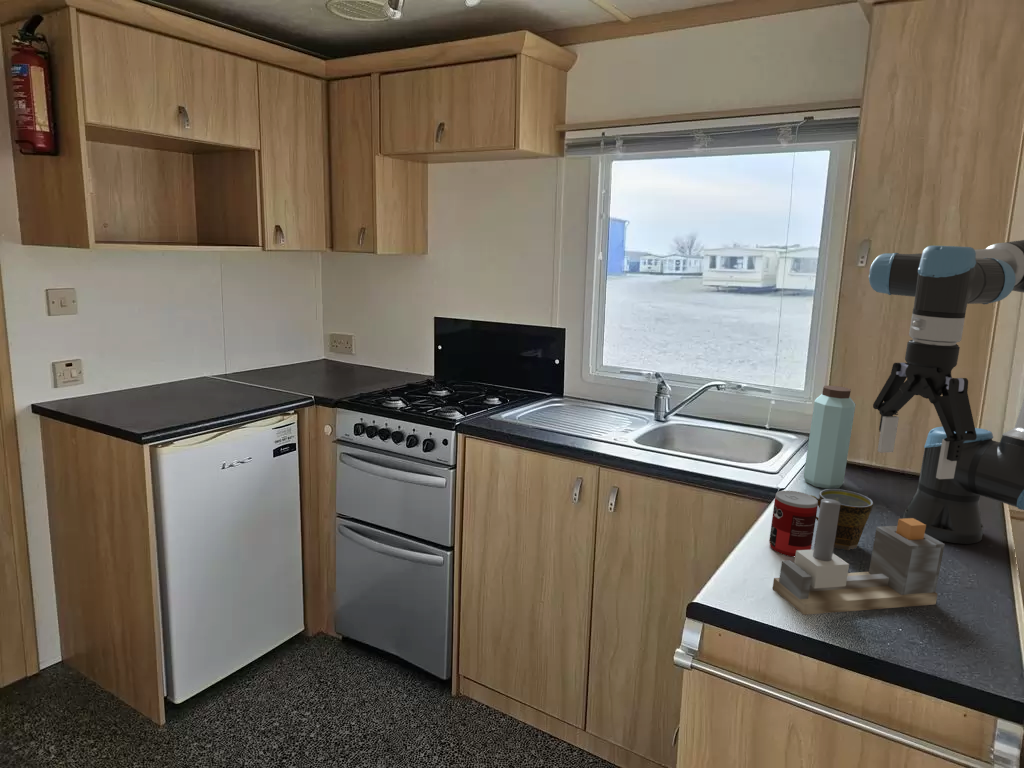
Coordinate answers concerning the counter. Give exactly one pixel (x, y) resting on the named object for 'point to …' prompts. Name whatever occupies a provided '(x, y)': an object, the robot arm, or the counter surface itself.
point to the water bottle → (829, 438)
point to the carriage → (824, 551)
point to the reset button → (911, 529)
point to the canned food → (793, 522)
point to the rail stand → (872, 578)
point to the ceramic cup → (848, 516)
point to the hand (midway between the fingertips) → (913, 464)
